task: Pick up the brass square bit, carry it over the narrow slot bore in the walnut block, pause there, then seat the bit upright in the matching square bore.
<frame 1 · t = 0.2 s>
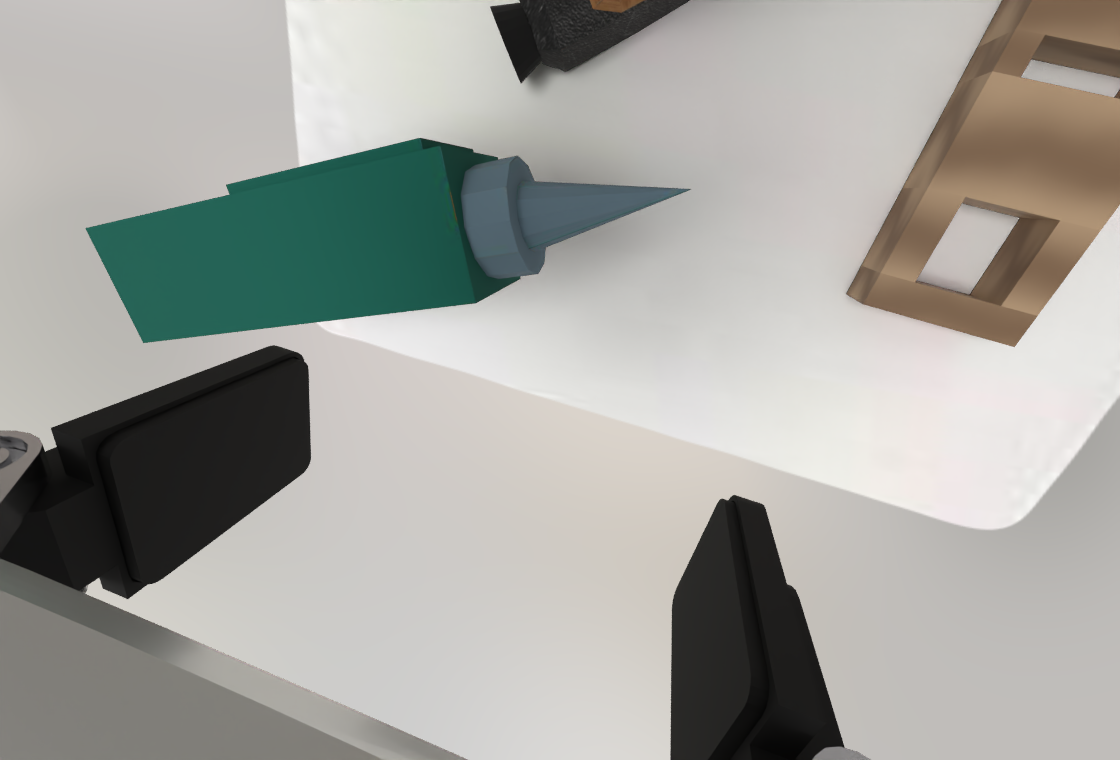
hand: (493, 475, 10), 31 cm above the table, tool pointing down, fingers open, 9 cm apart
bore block: (999, 171, 30), on the table
power tool: (495, 220, 39), on the table
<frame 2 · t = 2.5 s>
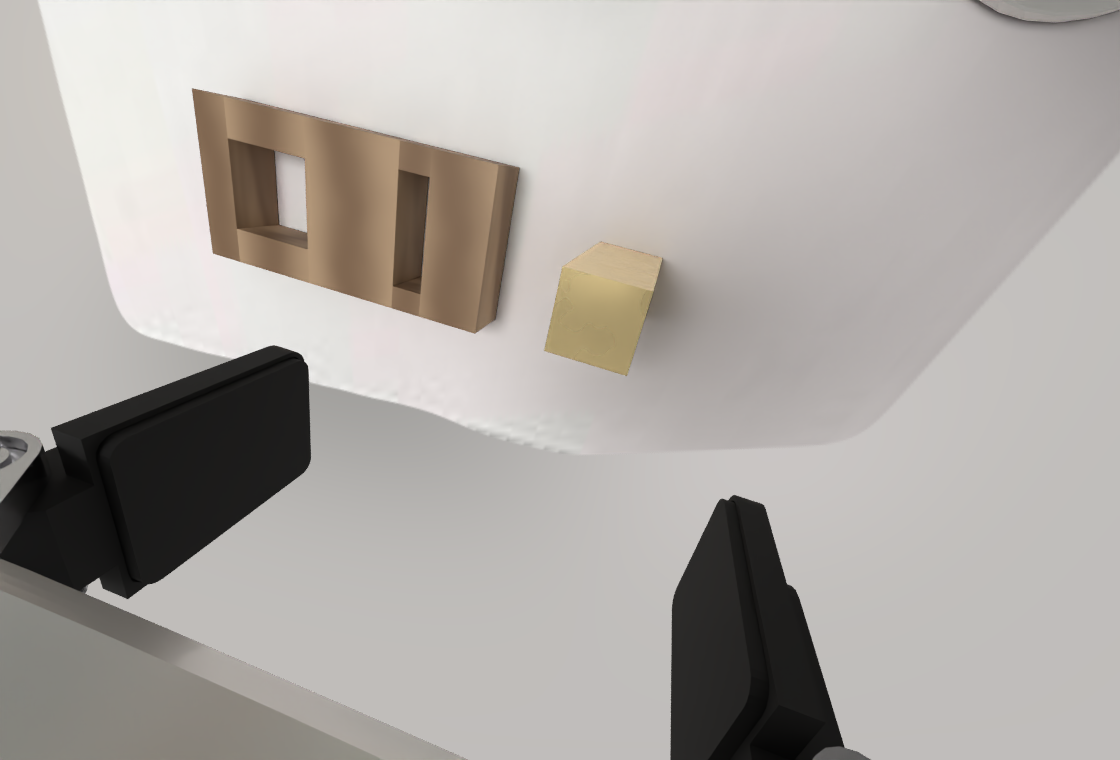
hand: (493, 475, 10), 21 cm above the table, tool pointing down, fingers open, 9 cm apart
square bit: (622, 280, 29), on the table
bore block: (372, 212, 31), on the table
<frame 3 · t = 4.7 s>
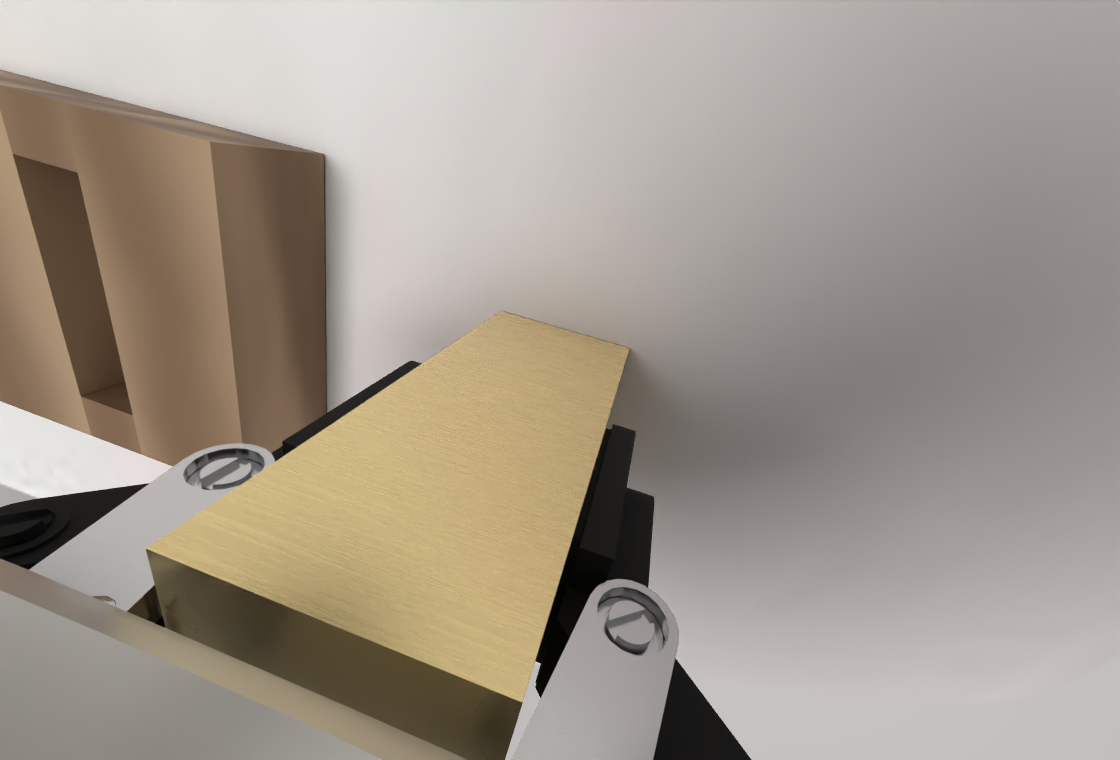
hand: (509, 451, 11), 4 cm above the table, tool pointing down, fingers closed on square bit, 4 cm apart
square bit: (550, 388, 14), on the table, touching gripper
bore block: (83, 241, 16), on the table
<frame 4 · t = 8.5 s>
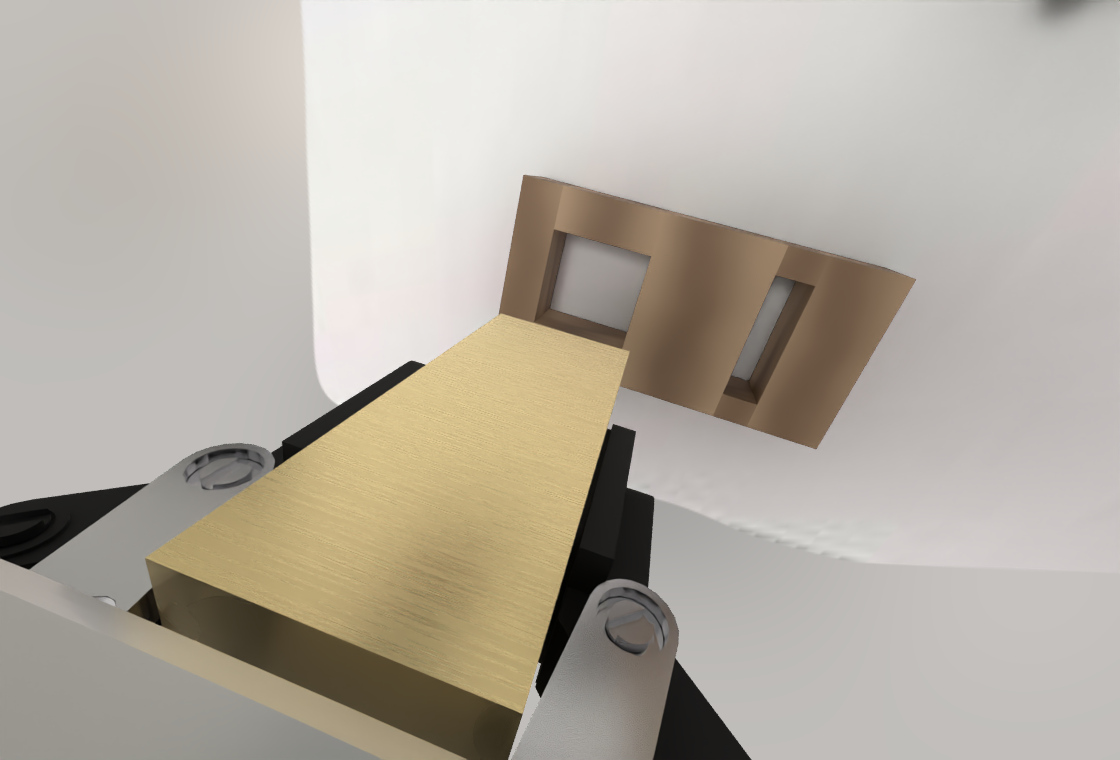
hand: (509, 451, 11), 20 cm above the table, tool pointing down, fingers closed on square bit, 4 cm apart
square bit: (550, 390, 14), point 16 cm above the table, touching gripper
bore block: (675, 302, 28), on the table
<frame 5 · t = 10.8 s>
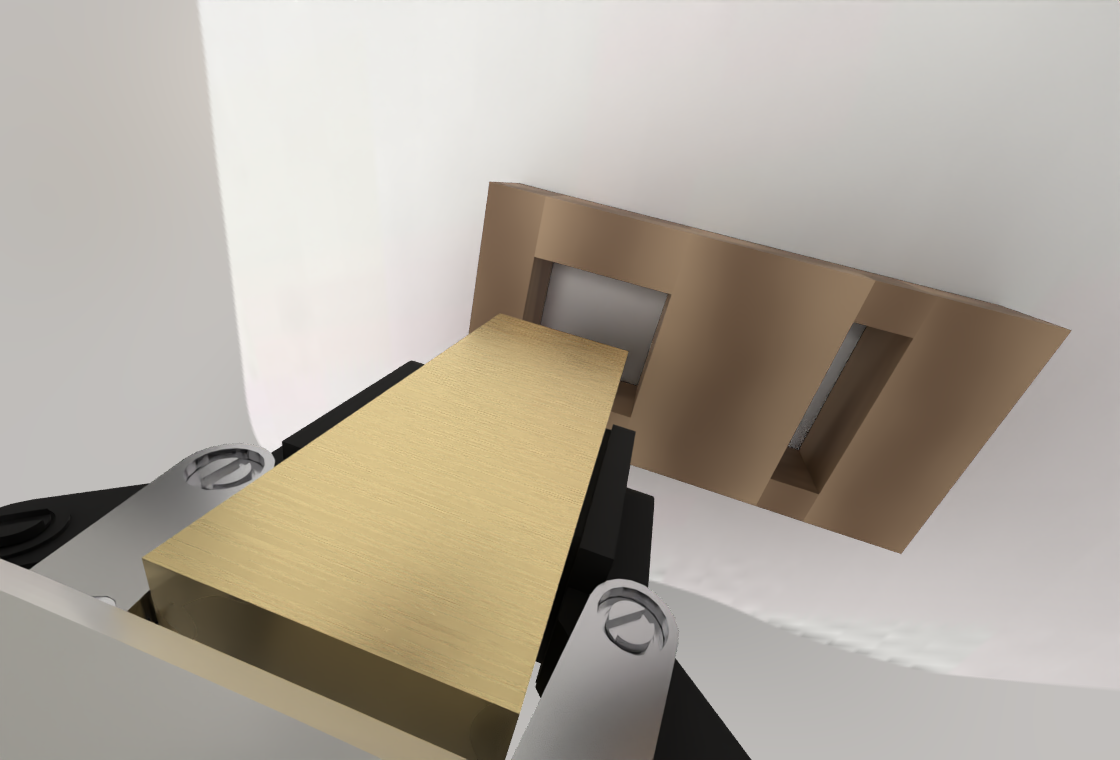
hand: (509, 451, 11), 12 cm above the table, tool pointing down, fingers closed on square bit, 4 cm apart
square bit: (549, 390, 14), point 8 cm above the table, touching gripper
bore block: (701, 348, 21), on the table
when the fingers open (6 cm above the table, at t = 12.6 s): square bit drops 2 cm, resting in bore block.
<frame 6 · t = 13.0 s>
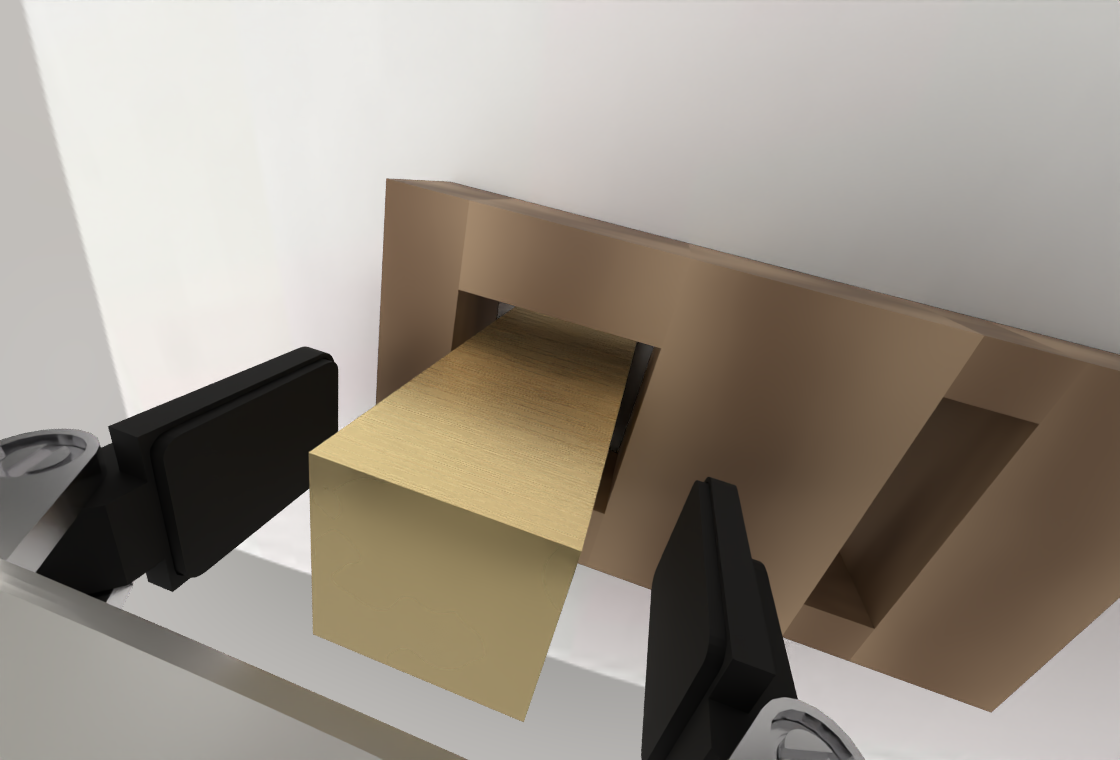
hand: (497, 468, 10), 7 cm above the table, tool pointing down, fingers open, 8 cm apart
square bit: (567, 368, 16), resting in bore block
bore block: (703, 408, 15), on the table
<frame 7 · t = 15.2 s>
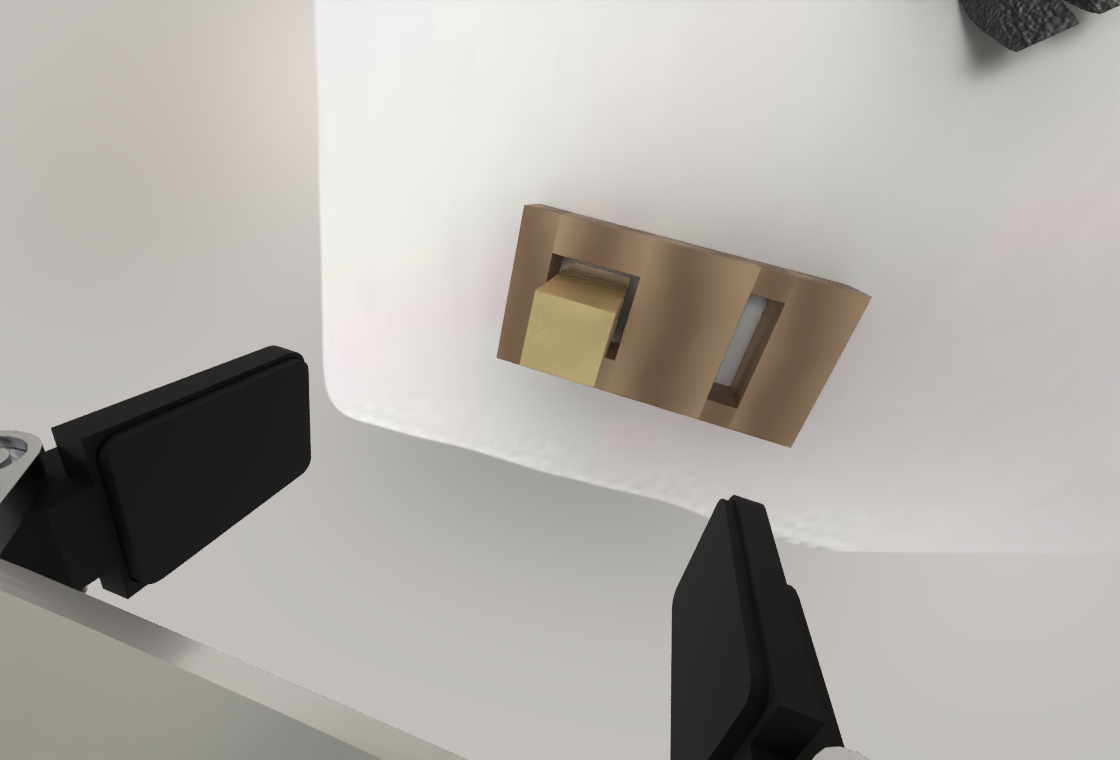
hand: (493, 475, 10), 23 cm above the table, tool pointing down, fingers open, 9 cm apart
square bit: (594, 298, 31), resting in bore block
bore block: (662, 316, 30), on the table
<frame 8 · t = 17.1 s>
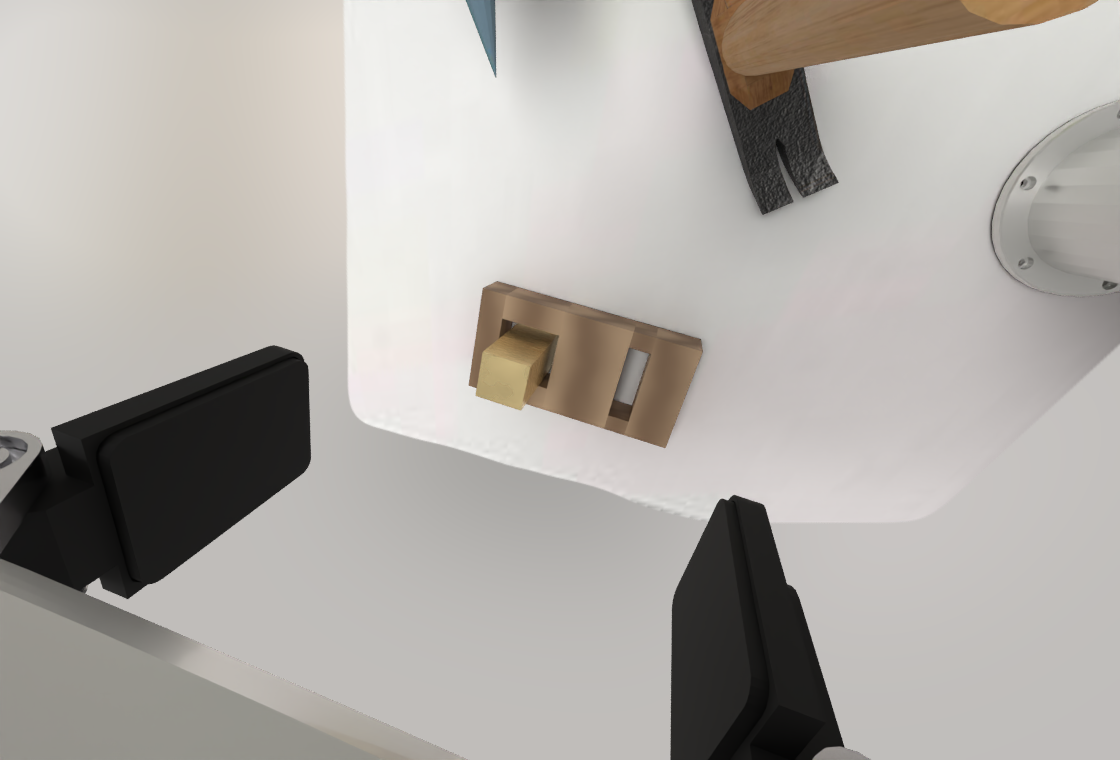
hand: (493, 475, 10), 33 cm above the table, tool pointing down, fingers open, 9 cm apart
square bit: (537, 343, 45), resting in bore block
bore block: (583, 357, 44), on the table
hammer: (747, 58, 33), on the table
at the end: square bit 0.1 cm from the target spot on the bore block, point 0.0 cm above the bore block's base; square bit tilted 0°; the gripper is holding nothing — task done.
